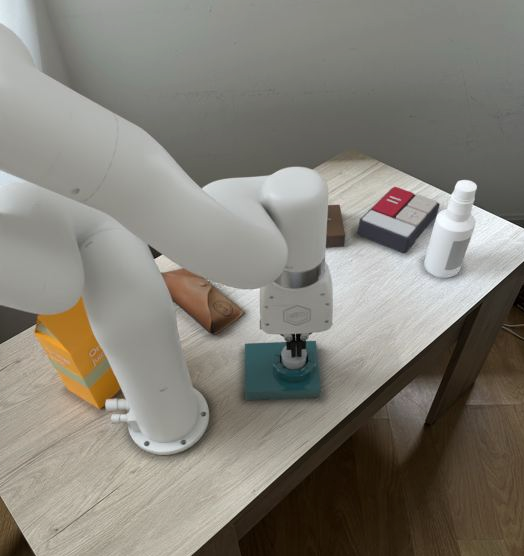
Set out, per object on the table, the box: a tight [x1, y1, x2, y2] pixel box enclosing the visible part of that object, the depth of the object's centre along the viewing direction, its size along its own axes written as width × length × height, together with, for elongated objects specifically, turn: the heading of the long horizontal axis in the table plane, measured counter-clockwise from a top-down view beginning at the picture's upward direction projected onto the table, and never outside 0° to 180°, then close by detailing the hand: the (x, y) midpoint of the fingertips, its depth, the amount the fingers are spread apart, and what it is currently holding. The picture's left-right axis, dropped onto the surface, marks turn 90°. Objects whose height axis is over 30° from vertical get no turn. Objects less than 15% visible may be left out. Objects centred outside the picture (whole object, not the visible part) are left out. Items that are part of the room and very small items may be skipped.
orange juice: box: [33, 296, 122, 410], centre depth 79 cm, size 8×9×20 cm
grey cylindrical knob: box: [281, 346, 307, 370], centre depth 83 cm, size 4×4×2 cm
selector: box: [326, 204, 346, 248], centre depth 107 cm, size 14×10×3 cm
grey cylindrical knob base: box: [244, 340, 322, 401], centre depth 85 cm, size 12×10×4 cm
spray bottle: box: [423, 179, 478, 279], centre depth 93 cm, size 7×7×18 cm
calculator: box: [357, 186, 441, 254], centre depth 107 cm, size 11×4×15 cm
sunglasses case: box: [160, 268, 244, 336], centre depth 96 cm, size 18×7×7 cm
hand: (295, 350), depth 81 cm, fingers closed
